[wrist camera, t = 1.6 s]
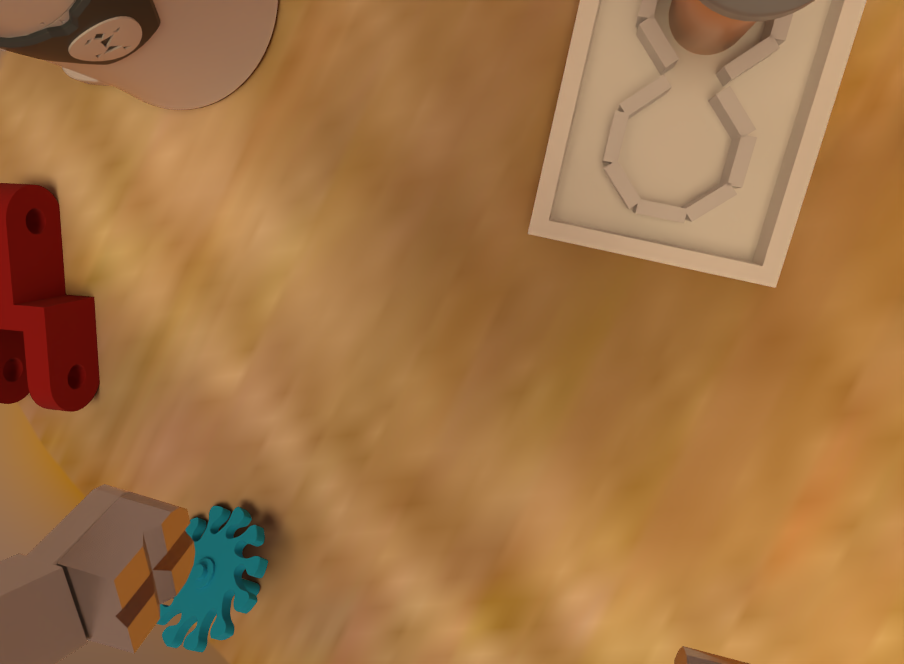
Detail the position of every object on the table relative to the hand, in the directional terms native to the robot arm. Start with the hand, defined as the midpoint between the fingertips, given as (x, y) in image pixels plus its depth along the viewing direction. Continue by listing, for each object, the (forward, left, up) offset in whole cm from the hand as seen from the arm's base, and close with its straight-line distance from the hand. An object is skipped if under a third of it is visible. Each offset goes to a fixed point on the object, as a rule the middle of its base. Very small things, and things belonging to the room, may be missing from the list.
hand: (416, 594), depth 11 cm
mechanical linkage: (-17, -33, -35) cm, 50 cm away
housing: (-7, +13, -34) cm, 37 cm away
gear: (+7, -30, -34) cm, 46 cm away
